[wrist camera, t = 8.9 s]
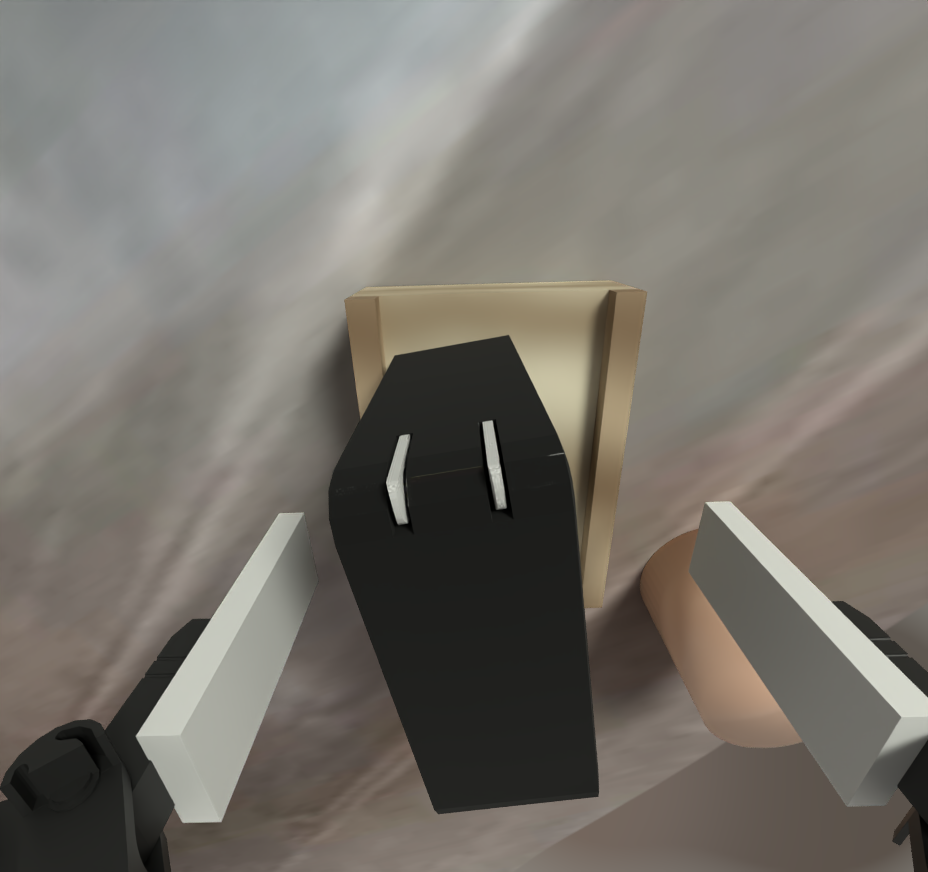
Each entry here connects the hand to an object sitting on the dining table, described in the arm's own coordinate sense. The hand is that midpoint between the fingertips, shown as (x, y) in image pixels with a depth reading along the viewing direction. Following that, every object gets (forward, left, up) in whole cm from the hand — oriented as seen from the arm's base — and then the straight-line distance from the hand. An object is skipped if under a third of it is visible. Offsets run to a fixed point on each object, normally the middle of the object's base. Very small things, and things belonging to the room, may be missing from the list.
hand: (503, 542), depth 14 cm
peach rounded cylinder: (+9, +12, -8) cm, 17 cm away
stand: (0, 0, -8) cm, 8 cm away
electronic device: (0, -1, -5) cm, 5 cm away
